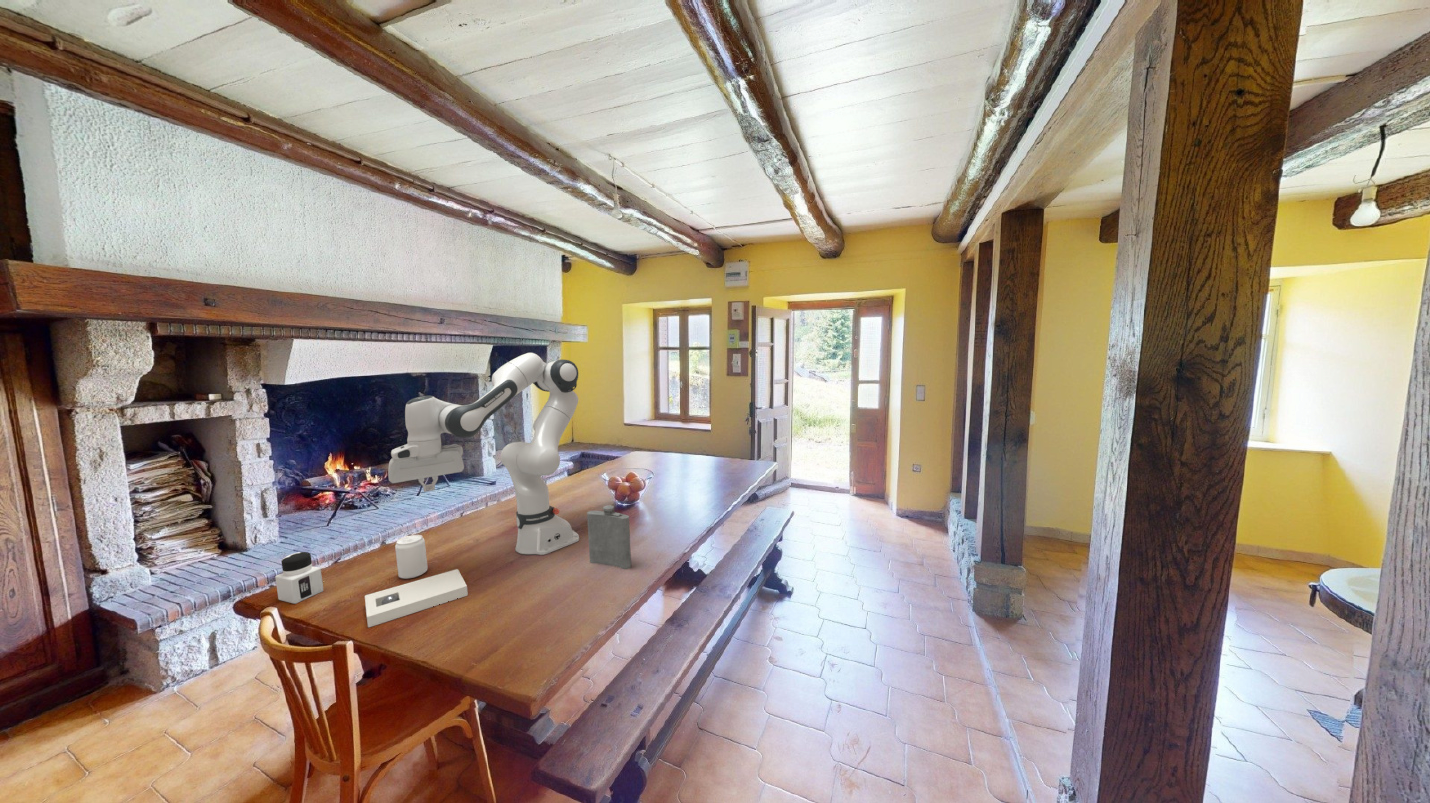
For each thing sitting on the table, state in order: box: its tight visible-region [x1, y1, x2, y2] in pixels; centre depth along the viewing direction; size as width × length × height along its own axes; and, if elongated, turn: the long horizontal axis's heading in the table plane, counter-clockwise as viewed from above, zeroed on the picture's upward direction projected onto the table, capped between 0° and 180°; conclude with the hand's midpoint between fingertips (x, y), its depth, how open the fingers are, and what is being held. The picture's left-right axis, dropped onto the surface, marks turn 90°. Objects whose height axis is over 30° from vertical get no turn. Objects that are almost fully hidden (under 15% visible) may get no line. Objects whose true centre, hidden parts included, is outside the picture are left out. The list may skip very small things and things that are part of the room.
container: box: [274, 551, 324, 605], centre depth 138 cm, size 8×8×13 cm
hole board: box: [364, 568, 469, 628], centre depth 135 cm, size 24×14×3 cm, turn 129°
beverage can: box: [394, 534, 428, 579], centre depth 150 cm, size 8×8×12 cm
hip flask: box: [586, 504, 632, 570], centre depth 155 cm, size 16×4×20 cm, turn 69°
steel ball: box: [382, 595, 399, 605], centre depth 131 cm, size 4×4×4 cm
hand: (429, 490), depth 145 cm, fingers closed
